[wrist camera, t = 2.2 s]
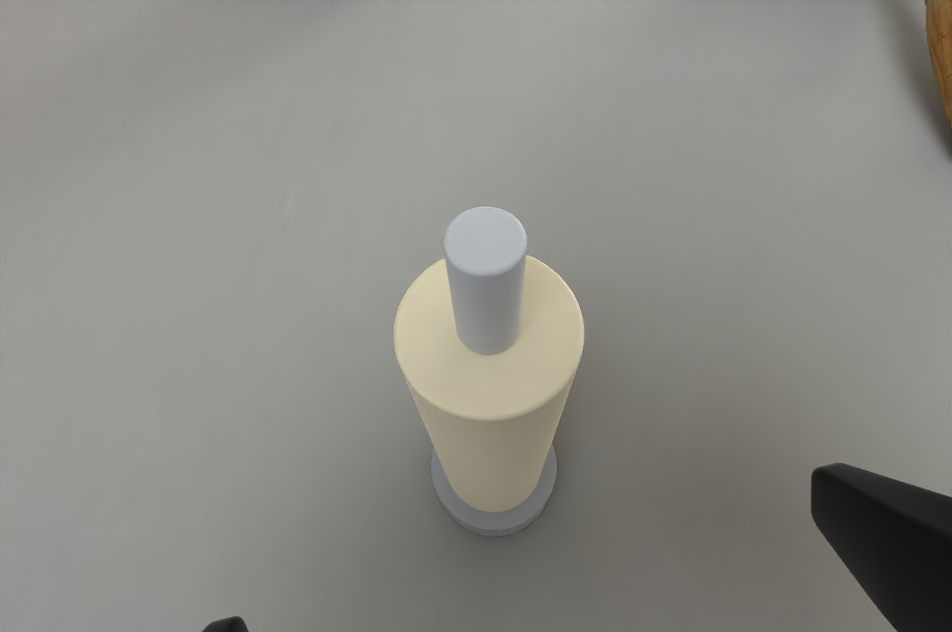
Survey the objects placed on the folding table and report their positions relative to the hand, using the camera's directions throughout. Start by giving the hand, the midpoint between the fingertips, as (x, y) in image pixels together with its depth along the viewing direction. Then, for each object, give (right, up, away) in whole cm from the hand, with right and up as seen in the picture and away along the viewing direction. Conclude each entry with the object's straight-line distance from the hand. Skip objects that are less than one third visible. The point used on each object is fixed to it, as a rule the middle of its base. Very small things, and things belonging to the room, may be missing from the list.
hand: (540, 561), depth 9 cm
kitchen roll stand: (0, -2, +11) cm, 11 cm away
